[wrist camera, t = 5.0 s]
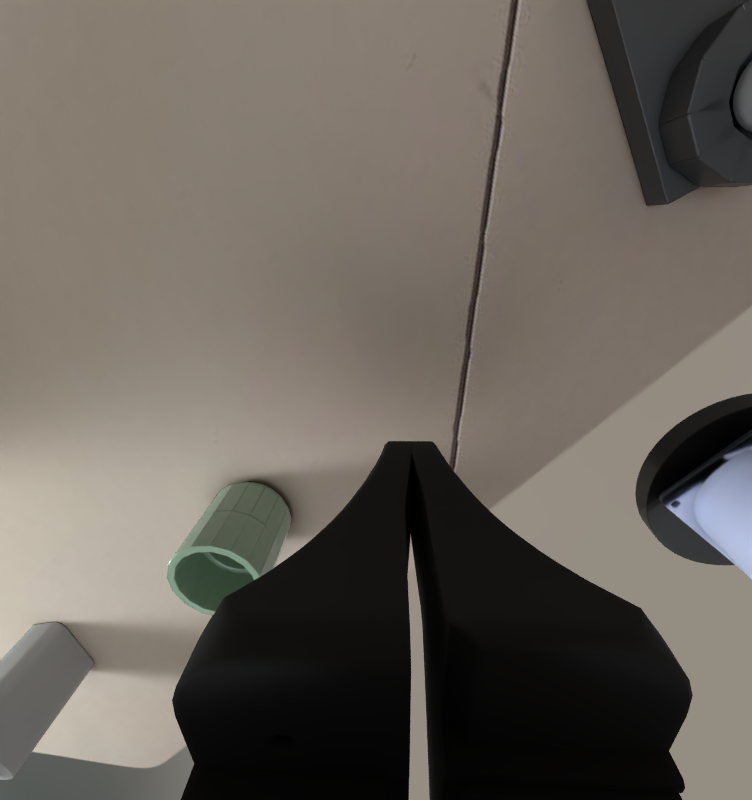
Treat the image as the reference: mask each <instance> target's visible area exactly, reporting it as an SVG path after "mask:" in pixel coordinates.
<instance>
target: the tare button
mask: <svg viewBox="0 0 752 800" xmlns="http://www.w3.org/2000/svg"><path fill="white" fill-rule="evenodd" d="M733 110H734V114H735V117H736V119H737V121H738V123H739V124H740V125H741V126H742V127H743V128H745V129H746V130H748V131H751V132H752V61H751V62H750V63H749V64H748V66H747V67H746V68H745V70H744V71H743V73H742V75H741V76H740V78H739V80H738V83H737V85H736V88H735V92H734V97H733Z"/></svg>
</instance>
